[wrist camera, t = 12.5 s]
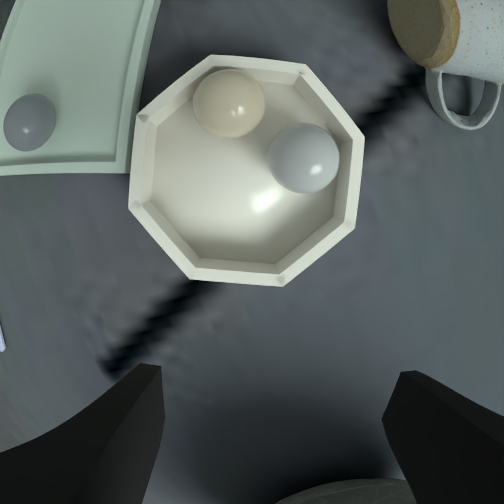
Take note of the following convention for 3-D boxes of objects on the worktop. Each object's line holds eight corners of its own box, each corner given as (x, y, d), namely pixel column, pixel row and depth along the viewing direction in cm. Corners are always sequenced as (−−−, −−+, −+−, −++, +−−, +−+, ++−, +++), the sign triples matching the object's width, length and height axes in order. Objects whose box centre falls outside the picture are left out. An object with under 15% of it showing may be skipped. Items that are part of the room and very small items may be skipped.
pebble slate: (23, 154, 14) (-11, 153, 11) (30, 102, 14) (-2, 93, 10) (63, 151, 15) (30, 148, 11) (70, 96, 14) (40, 83, 11)
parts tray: (-14, 176, 15) (-24, 177, 14) (28, -6, 12) (21, -11, 10) (132, 173, 16) (124, 173, 15) (173, -39, 12) (170, -49, 11)
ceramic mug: (367, -9, 13) (418, -68, 6) (453, 5, 13) (512, -29, 6) (413, 133, 16) (498, 122, 9) (492, 129, 16) (568, 126, 9)
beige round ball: (251, 150, 12) (175, 126, 12) (251, 145, 16) (190, 126, 15) (279, 76, 11) (201, 53, 11) (273, 87, 14) (211, 68, 14)
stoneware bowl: (140, 261, 17) (125, 274, 15) (157, 69, 15) (144, 53, 12) (331, 277, 18) (345, 292, 15) (352, 89, 15) (369, 77, 13)
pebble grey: (285, 202, 12) (359, 175, 12) (255, 127, 12) (328, 103, 12) (281, 205, 16) (340, 183, 16) (257, 146, 16) (316, 125, 15)
